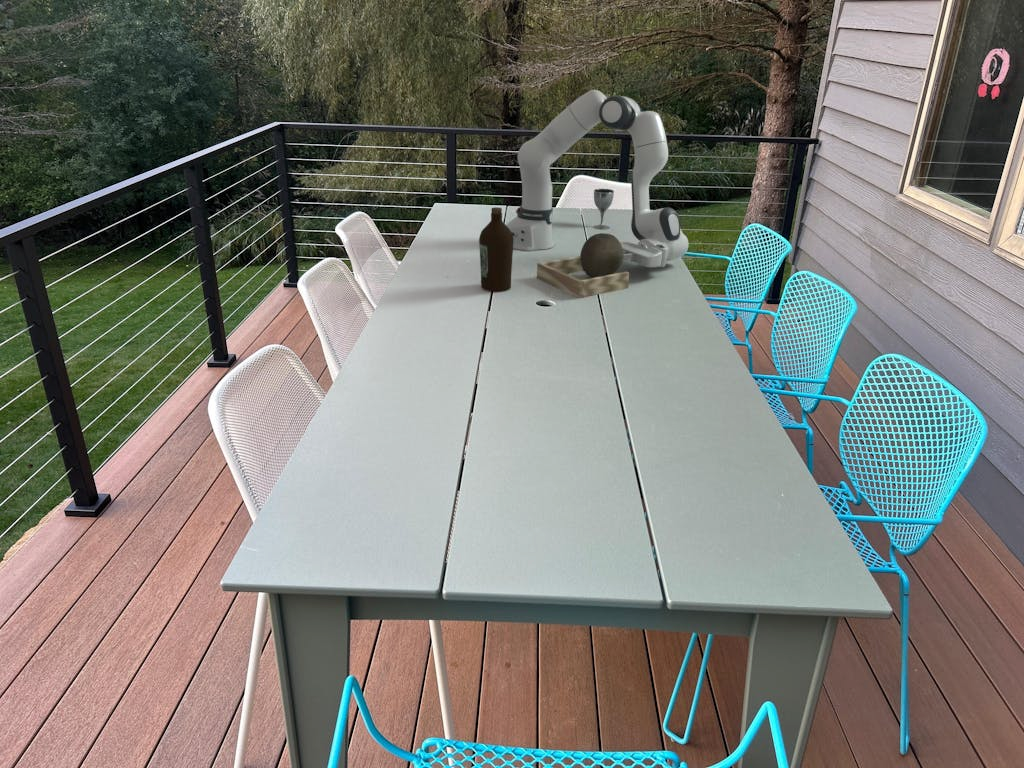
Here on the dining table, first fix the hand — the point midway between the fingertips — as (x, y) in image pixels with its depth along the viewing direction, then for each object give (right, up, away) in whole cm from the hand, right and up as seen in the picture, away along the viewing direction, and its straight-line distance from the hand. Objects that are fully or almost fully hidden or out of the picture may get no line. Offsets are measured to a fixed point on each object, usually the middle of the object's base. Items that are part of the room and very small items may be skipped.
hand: (617, 257), depth 252 cm
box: (-12, -9, -4) cm, 15 cm away
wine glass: (+2, +23, +64) cm, 68 cm away
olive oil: (-40, -11, -10) cm, 43 cm away
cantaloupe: (-6, -7, 0) cm, 9 cm away
